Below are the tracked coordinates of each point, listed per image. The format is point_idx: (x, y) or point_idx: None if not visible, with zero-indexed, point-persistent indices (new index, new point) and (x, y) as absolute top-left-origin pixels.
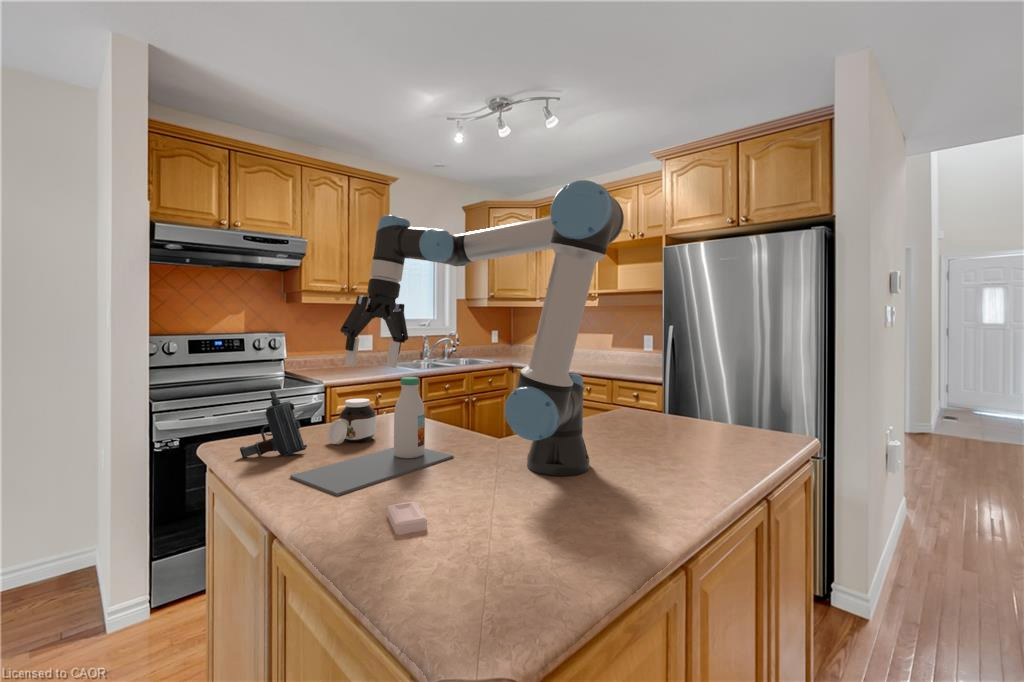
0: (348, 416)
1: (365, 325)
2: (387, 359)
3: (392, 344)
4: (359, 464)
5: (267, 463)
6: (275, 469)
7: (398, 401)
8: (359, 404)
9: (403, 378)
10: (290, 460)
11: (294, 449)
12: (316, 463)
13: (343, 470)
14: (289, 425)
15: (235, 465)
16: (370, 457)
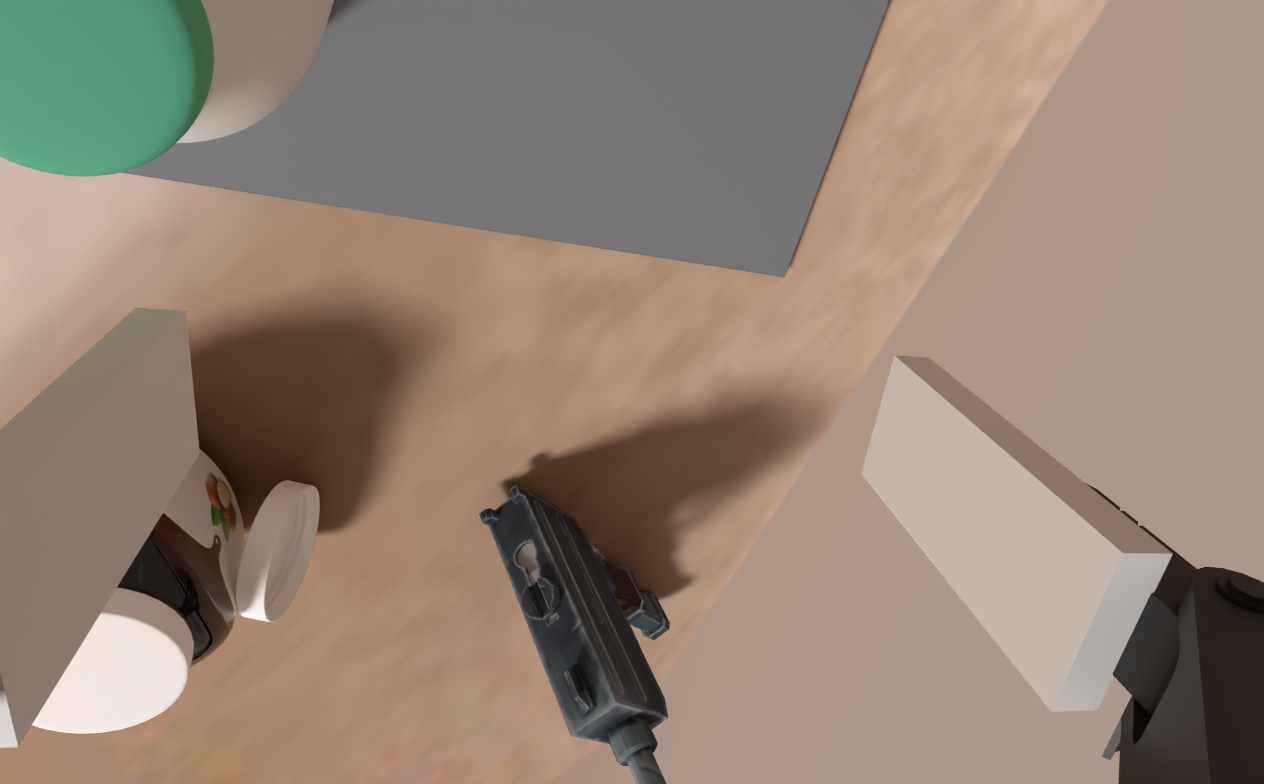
0: (213, 585)
1: (1235, 773)
2: (167, 499)
3: (39, 626)
4: (544, 116)
5: (665, 486)
6: (713, 404)
7: (271, 70)
8: (138, 606)
9: (176, 85)
10: (599, 454)
11: (547, 511)
12: (586, 337)
13: (654, 120)
14: (583, 603)
15: (723, 544)
16: (412, 153)
